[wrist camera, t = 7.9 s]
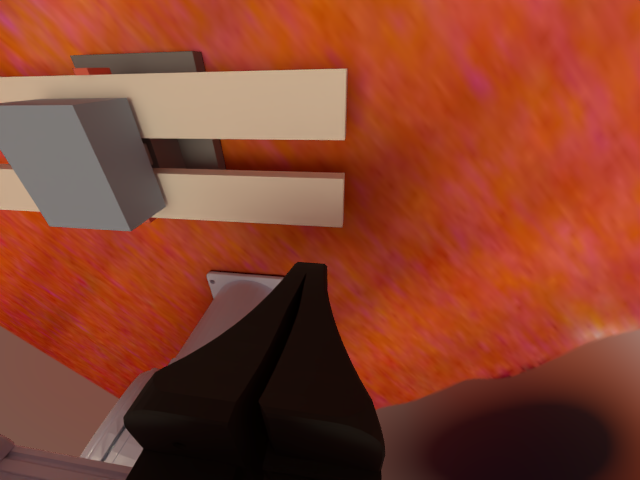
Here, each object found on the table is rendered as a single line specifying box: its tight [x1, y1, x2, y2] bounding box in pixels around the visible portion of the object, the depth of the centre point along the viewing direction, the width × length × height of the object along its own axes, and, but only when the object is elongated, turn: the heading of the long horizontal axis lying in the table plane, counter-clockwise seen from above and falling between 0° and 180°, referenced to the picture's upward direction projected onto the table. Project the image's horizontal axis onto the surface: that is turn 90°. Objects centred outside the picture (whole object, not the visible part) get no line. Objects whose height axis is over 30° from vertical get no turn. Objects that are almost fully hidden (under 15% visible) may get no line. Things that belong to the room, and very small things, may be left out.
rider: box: [0, 98, 166, 231], centre depth 15 cm, size 5×6×4 cm
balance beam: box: [0, 51, 348, 227], centre depth 17 cm, size 26×10×5 cm, turn 91°
